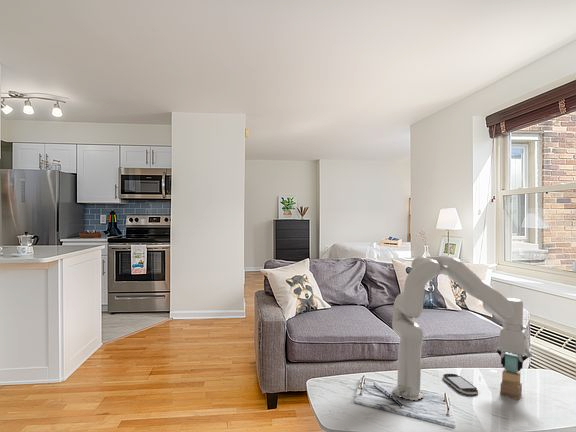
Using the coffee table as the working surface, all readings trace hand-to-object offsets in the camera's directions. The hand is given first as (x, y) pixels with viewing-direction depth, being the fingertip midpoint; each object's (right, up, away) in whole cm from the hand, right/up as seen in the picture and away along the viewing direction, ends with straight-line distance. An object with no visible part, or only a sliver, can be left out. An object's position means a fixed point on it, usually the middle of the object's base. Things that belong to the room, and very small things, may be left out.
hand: (511, 367), depth 165 cm
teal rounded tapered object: (0, -1, 0) cm, 1 cm away
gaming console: (-20, -12, +7) cm, 24 cm away
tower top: (0, -7, 0) cm, 7 cm away
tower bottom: (0, -12, 0) cm, 12 cm away
